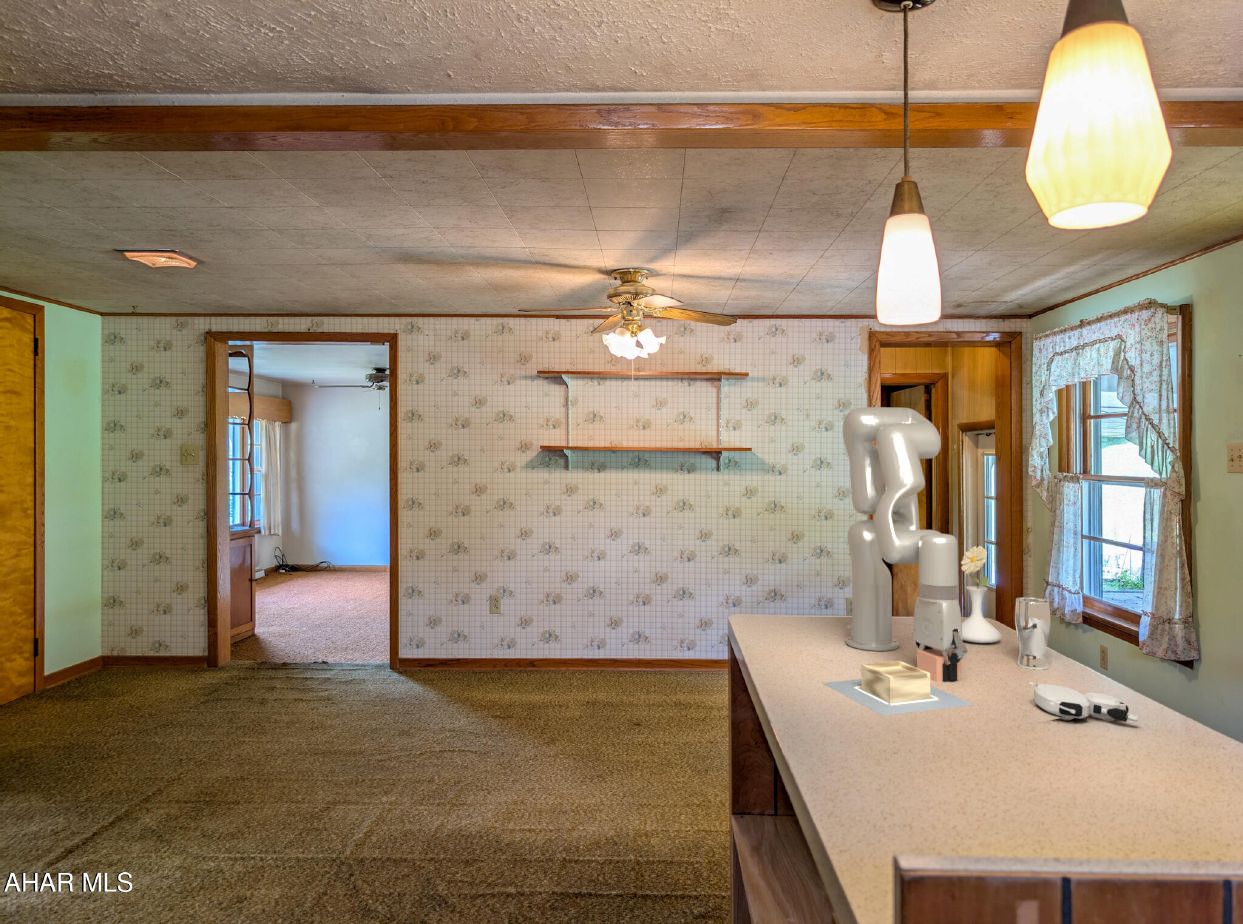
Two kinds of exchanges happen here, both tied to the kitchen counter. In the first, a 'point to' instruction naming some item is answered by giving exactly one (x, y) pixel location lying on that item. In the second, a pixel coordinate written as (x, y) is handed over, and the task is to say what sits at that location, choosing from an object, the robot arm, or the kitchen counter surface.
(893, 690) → the maple base
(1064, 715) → the robot toy
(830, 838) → the kitchen counter surface
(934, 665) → the terracotta cube
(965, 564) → the flower in vase
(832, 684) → the board
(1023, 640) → the beer glass
